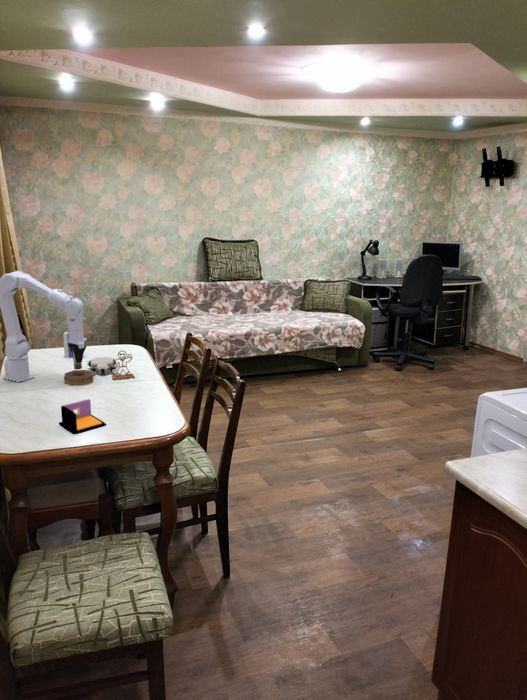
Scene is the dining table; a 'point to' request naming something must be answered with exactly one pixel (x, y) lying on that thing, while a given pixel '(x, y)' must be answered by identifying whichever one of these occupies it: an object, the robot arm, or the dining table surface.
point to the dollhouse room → (79, 417)
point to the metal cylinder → (76, 365)
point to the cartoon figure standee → (126, 375)
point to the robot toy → (102, 365)
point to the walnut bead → (78, 377)
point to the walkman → (66, 347)
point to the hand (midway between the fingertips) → (77, 361)
